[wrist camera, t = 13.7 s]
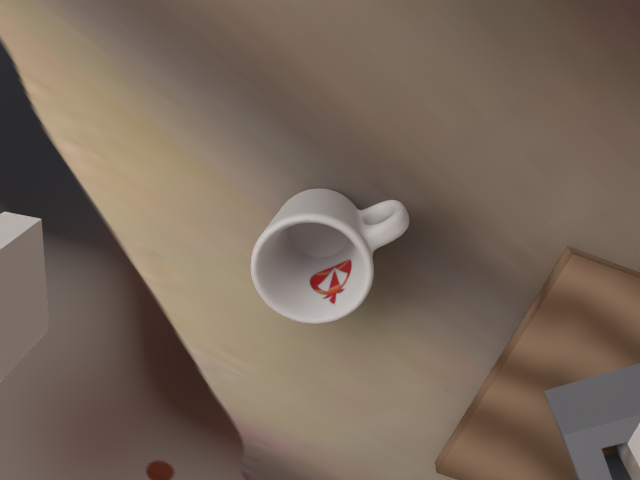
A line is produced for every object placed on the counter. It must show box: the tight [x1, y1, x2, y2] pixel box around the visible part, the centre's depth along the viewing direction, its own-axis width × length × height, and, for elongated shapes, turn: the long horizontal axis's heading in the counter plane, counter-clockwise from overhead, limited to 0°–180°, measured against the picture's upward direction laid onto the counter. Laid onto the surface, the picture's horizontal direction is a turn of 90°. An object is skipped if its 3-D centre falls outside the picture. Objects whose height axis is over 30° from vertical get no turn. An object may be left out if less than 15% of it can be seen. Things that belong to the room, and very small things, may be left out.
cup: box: [251, 189, 409, 324], centre depth 38 cm, size 11×8×8 cm
